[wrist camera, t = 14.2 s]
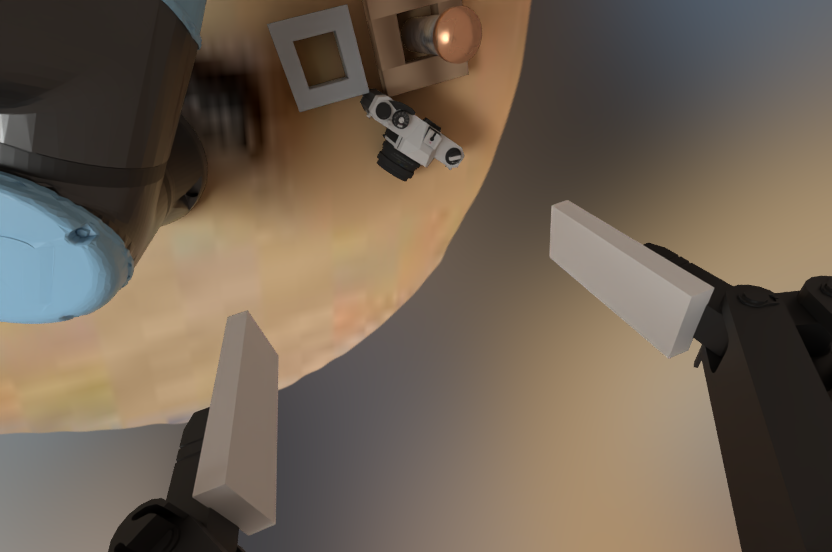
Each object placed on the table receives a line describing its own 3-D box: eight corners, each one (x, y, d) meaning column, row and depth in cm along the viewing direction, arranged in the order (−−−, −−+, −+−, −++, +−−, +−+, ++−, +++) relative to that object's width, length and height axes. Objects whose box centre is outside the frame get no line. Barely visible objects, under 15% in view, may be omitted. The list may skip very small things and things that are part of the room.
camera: (337, 140, 44) (352, 165, 37) (365, 78, 41) (387, 93, 34) (419, 181, 51) (445, 208, 45) (448, 130, 48) (480, 151, 42)
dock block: (383, 94, 42) (388, 97, 41) (359, -11, 36) (363, -14, 34) (460, 72, 44) (468, 74, 42) (449, -33, 38) (458, -37, 36)
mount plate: (299, 108, 41) (299, 112, 39) (267, 24, 36) (266, 24, 34) (365, 89, 42) (369, 92, 40) (343, 5, 37) (347, 4, 35)
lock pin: (401, 59, 41) (441, 69, 31) (393, 17, 39) (433, 12, 28) (433, 50, 42) (483, 57, 31) (427, 8, 39) (479, 0, 29)
